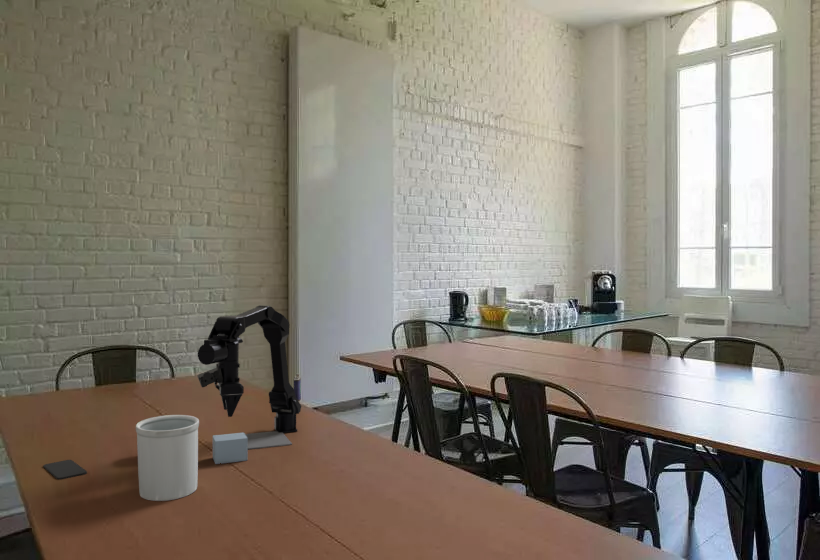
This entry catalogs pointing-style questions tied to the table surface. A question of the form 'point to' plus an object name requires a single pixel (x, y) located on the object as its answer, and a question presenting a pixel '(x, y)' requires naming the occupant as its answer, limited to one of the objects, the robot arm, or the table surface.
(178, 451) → the utensil holder
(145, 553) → the table surface
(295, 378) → the flask
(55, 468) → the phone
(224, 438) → the grey rectangular block
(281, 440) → the mat
